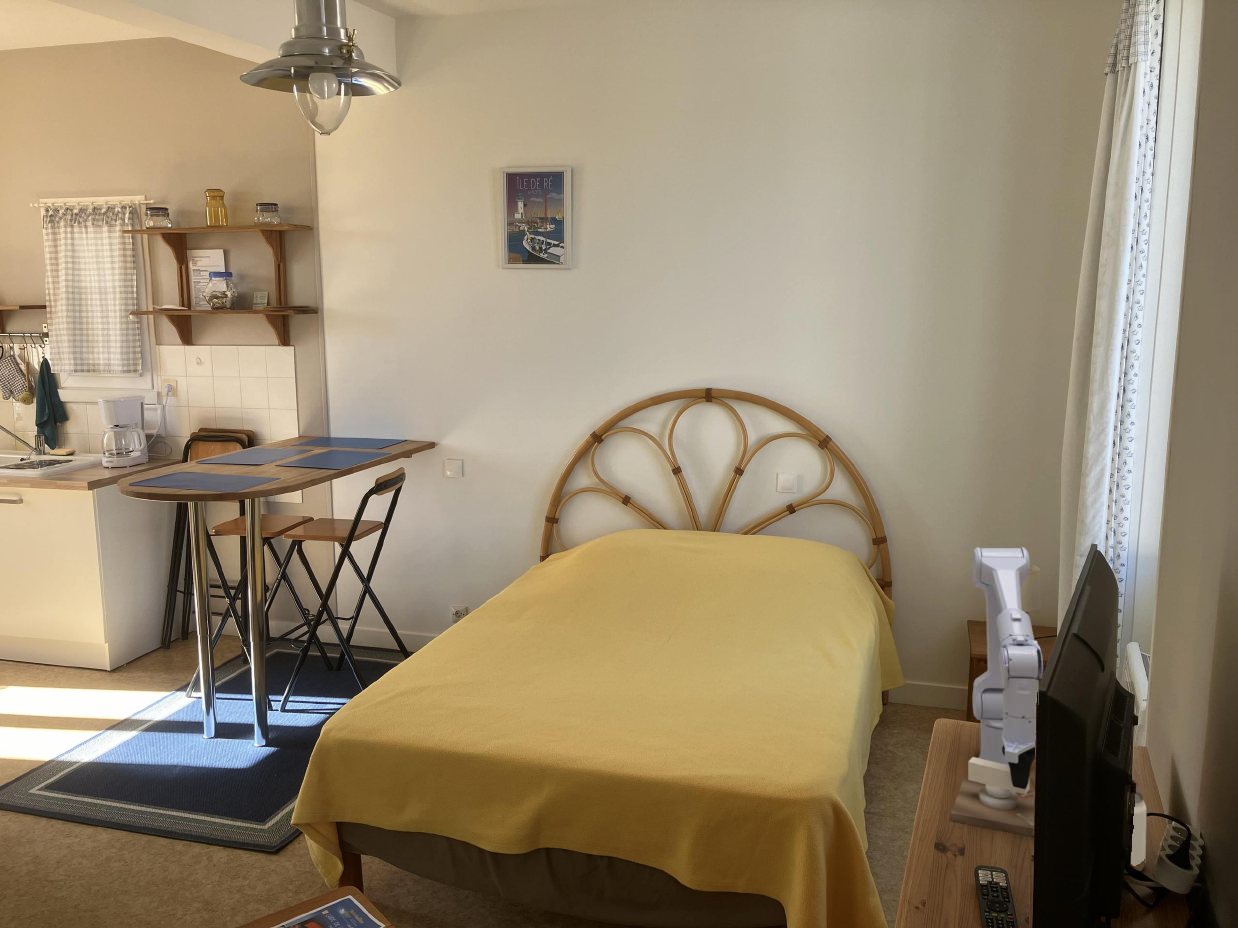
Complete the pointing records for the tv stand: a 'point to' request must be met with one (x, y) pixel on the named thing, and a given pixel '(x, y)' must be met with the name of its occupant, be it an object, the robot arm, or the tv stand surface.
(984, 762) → the lock handle
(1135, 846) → the can
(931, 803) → the tv stand surface
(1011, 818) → the base
